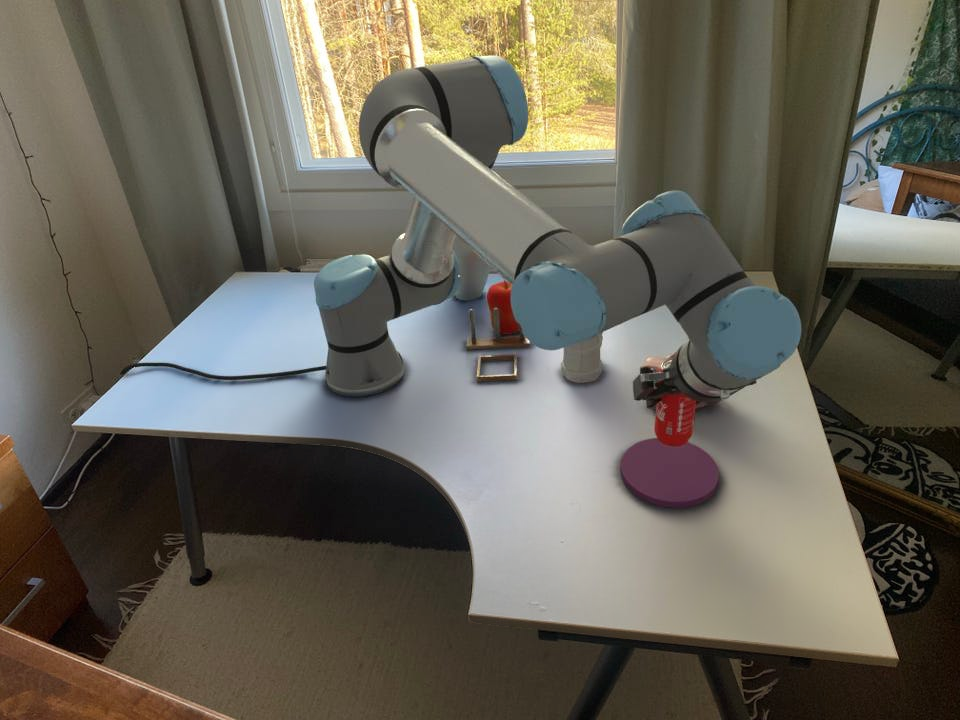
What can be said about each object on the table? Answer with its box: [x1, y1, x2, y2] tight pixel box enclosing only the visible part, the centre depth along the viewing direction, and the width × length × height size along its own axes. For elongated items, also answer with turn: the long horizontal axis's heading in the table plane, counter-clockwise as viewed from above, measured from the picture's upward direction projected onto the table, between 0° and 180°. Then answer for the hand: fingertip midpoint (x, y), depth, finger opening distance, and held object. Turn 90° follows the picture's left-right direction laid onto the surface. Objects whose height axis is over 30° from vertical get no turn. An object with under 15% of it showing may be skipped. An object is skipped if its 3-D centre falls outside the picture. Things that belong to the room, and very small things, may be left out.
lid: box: [619, 437, 720, 509], centre depth 93 cm, size 14×14×1 cm
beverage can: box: [653, 358, 696, 447], centre depth 86 cm, size 5×5×12 cm
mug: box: [560, 332, 604, 384], centre depth 116 cm, size 8×12×12 cm, turn 146°
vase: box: [451, 235, 491, 302], centre depth 144 cm, size 14×14×25 cm
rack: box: [466, 308, 531, 382], centre depth 122 cm, size 15×13×8 cm
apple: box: [485, 279, 520, 335], centre depth 131 cm, size 9×8×12 cm
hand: (669, 398), depth 91 cm, fingers closed on beverage can, 5 cm apart
